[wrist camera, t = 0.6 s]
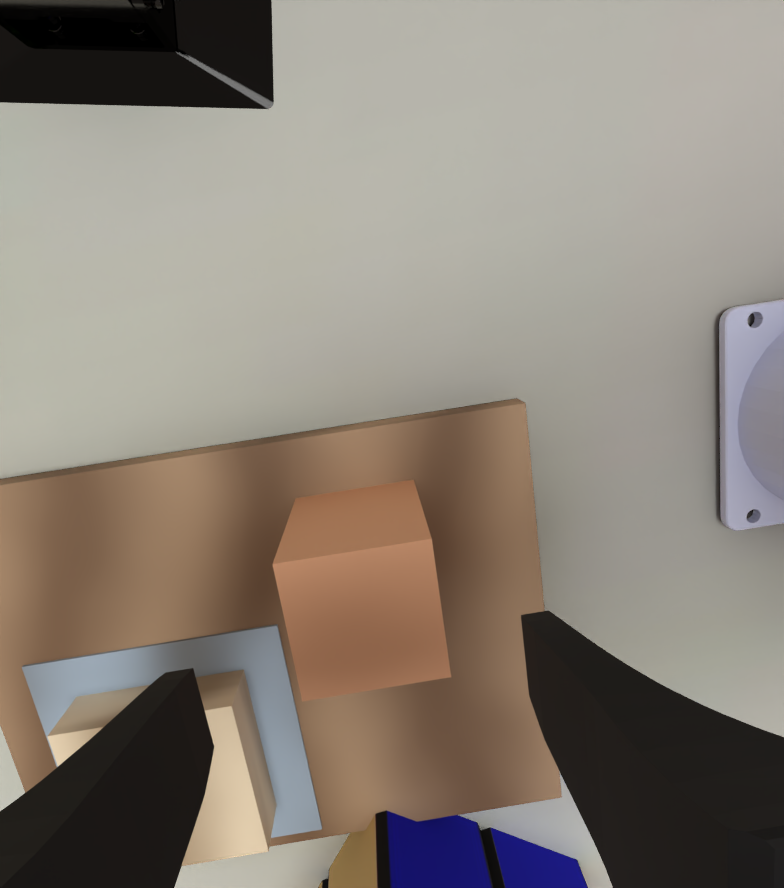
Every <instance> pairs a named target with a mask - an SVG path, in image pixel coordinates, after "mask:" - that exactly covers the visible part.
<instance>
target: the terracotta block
mask: <svg viewBox="0 0 784 888" xmlns="http://www.w3.org/2000/svg"><path fill="white" fill-rule="evenodd" d="M272 565H273V569H274V574H275V578H276V583H277V588H278V592H279V597H280V601H281V606H282V611H283V615H284V620H285V624H286V629H287V634H288V638H289V643H290V647H291V652H292V657H293V661H294V666H295V670H296V675H297V680H298V684H299V689H300V693H301V698H302V702H303V701H309V700H315V699H321V698H327V697H333V696H339V695H346V694H352V693H358V692H364V691H370V690H376V689H382V688H388V687H394V686H400V685H406V684H413V683H419V682H425V681H431V680H437V679H443V678H449V677H451V672H450V665H449V657H448V650H447V643H446V636H445V629H444V622H443V615H442V608H441V601H440V594H439V587H438V579H437V572H436V565H435V558H434V551H433V544H432V538H431V535H430V531H429V528H428V525H427V522H426V518H425V515H424V512H423V509H422V505H421V502H420V499H419V496H418V492H417V489H416V486H415V483H414V480H408V481H402V482H396V483H389V484H383V485H377V486H370V487H364V488H358V489H351V490H345V491H339V492H332V493H326V494H320V495H313V496H307V497H301V498H296V499H295V502H294V504H293V507H292V510H291V513H290V516H289V519H288V522H287V524H286V527H285V530H284V533H283V536H282V539H281V541H280V544H279V547H278V550H277V553H276V556H275V558H274V561H273V564H272Z"/></svg>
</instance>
